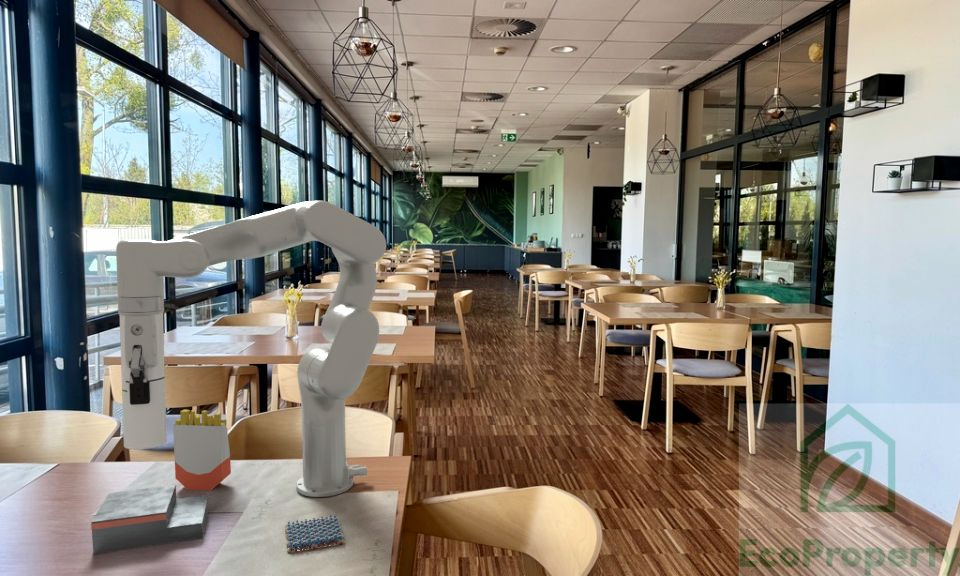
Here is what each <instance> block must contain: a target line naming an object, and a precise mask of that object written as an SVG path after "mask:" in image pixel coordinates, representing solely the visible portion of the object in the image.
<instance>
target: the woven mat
mask: <svg viewBox="0 0 960 576" xmlns="http://www.w3.org/2000/svg"><path fill="white" fill-rule="evenodd" d="M295 521H296V522H295ZM295 521H292V524H291V523H290V522H291V521H287V524H286V525H285V527H284V528H285V529H284V530H285V531H284V532H285V538H286V539H287V543H286V544H285V546H287V548H286V552H287V553H288V552H292V553H298V552H297V549H299V550H300V551H299V552H302V551H301V550H302V549H303V548H304V549H303V550H305V549H311V550H316V549H319V548H318V547H323V548H325V547H324V546H328V547H330V546H329V545H334V546H339V545H344V544H345V543H346V540H345V539H343V538H344V537H345V536H344V533H343V529H342V525H341V523H340V518H339V517H338V516H336V515H334V516H333V515H331V514H330V515H329V518H328V516H326V517H325V518H324V516H321V517H320V518H319V517H318V518H317V519H316V518H315V517H313V518H312V519H309V520H307V519H304V520H300V522H299V520H298V519H297V520H295ZM334 525H335V526H334ZM300 527H301V528H300ZM305 527H306V528H305ZM301 533H302V534H301ZM305 535H306V536H305ZM302 538H303V539H302ZM297 539H298V540H297ZM325 540H326V541H325ZM320 541H321V542H320ZM329 542H330V543H329ZM324 543H326V544H324ZM320 544H321V545H320ZM303 546H304V547H303ZM307 546H309V547H307ZM297 547H299V548H297ZM288 548H289V549H288ZM293 548H295V549H293ZM312 548H313V549H312ZM287 549H288V550H287ZM294 551H295V552H294ZM305 551H306V550H305Z"/></svg>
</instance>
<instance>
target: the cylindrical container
mask: <svg viewBox="0 0 960 576" xmlns="http://www.w3.org/2000/svg"><path fill="white" fill-rule="evenodd" d="M154 317H155V323H156V333H157V360H158V365H157V366H155V367H153V368H152V366H151V365H150V366H148V382H150V402H149V403H148V404H138V405H131V404H130V388H129V383H130V368H131V366H129V367H130V368H128V367H127V366H126V360H125V327H124V326H125V315H119V333H120V338H119V339H120V367H121V368H120V369H121V391H122V392H121V397H122V401H121V402H122V426H123V428H122V429H123V447H124V448H125V449H128V450H147V449H152V448H156V447H159V446H162V445H164V444H166V442H167V415H166V414H167V412H166V411H167V409H166V407H167V406H166V380H165V376H166V375H165V373H166V372H165V339H164V332H165V331H164V313H160V314H154ZM136 330H138V328H136ZM138 331H139V330H138ZM129 365H131V361H129ZM141 365H145V360H144V358H143V356H141V362H140V366H141ZM142 371H143V372H144V370H142ZM143 375H144V374H143Z"/></svg>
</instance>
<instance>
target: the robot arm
mask: <svg viewBox="0 0 960 576" xmlns="http://www.w3.org/2000/svg"><path fill="white" fill-rule="evenodd" d="M315 241H316V242H320V243H322V244H324V245H326V246H327V247H330V248H331V251H332V254H333V256H335V258H336V260H337V263H338V267H339V280H338V283H337V286H336V289H335V291H334V293H333V296H332V298H331V301H330V303H329V305H328V307H327V310H326V311H325V314H324V316H323V318H322V321H321V324H320V325H321V326H320V330H321V331H320V332H321V336H323V337H324V339H325V340H326V341H328V342H329V343H331V346H330V348H326V347H316V348H312V349H310V350H308V351H306V352H305V353H304V354H303V355H302V357H301V358H300V360H299V362H298V364H297V365H298V366H297V371H296V372H297V373H296V374H297V383H298V390H299V394H300V395H299V396H300V404H301V406H300V407H301V444H302V445H301V446H302V449H301V451H302V477H301V478H299V479H297V481H296V484H295V488H296V492H298V493H299V494H301V495H302V496H307V497H311V498H312V497H313V498H325V497H331V496H332V497H333V496H336V495H340V494H343V493H345V492H347V491H349V490H350V489H351V488H352V487H353V485H354V477H358V476H359V477H363V476H368V468H367V466H361V465H360V464H354V465H350V464H348V462H347V455H346V453H347V452H346V451H347V450H346V449H347V448H346V447H347V446H346V404H345V399H347V398H349V397H350V396H352V395H353V394H354V393H355V392H356V391H357V389H358V388H359V387H360V384H361V383H362V381H363V377H365V374H366V371H367V368H368V367H369V363H370V361H371V359H372V357H373V354H374V351H375V349H376V346H377V344H378V341H379V336H380V325H379V322H378V319H377V317H376V315H374V313H373V312H372V311H370V307H371V304H372V301H373V298H374V295H375V293H376V290H377V284H378V275H377V269H376V265H375V263H377V262H379V261H380V260H381V259H382V258H383V257H384V255H385V253H386V250H387V241H386V238H385V235H384V234H383V232H382V231H381V230H380V228H378V227H377V226H375V225H373V224H371V223H370V222H368V221H365V220H364V219H362V218H360V217H358V216H356V215H355V214H353V213H350V212H349V211H347V210H345V209H344V208H341V207H339V206H338V205H336V204H334V203H331V202H329V201H326V200H309V201H302V202H298V203H295V204H291V205H286V206H284V207H281V208H277V209H274V210H269V211H265V212H262V213H259V214H258V213H257V214H255V215H251V216H248V217H244V218H240V219H237V220H234V221H232V222H231V221H230V222H229V223H226V224H221V225H218V226H215V227H210V228H208V229H204V230H200V231H196V232H193V233H190V234H185V235H182V236H178V237H175V238H171V239H169V240H167V241H166V240H164V241H163V240H162V241H158V240H153V239H122V240H120V241H119V242H118V243H117V244H116V247H115V248H116V249H115V253H116V254H115V255H116V258H115V259H116V279H117V280H116V281H117V282H116V285H117V286H116V288H117V310H118V311H117V312H118V313H117V314H118V315H119V316H120V315H125V326H124V327H125V360H126V366H127V367H128V368H130V367H129V366H131V368H130V383H129V388H130V404H131V405H138V404H148V403H149V402H150V382H148V366H150V365H151V366H152V368H153V367H155V366H157V365H158V360H157V333H156V323H155V317H154V314H160V313H163V314H164V313H165V307H164V306H165V304H164V303H165V301H164V277H167V278H178V279H193V278H197V277H199V276H200V275H202V274H203V273H204V272H206V271H207V269H208V267H211V266H214V265H218V264H222V263H227V262H230V261H237V260H249V259H252V260H253V259H257V258H262V257H265V256H269V255H271V254H274V253H279V252H281V251H285V250H287V249H289V248H294V247H297V246H300V245H303V244H307V243H310V242H315ZM136 328H138V330H139V331H138V330H136ZM141 356H143V358H144V360H145V365H141V366H140V362H141ZM129 361H131V365H129ZM142 370H144V372H143V371H142ZM143 374H144V375H143Z"/></svg>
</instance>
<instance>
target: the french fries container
mask: <svg viewBox="0 0 960 576" xmlns="http://www.w3.org/2000/svg"><path fill="white" fill-rule="evenodd" d="M179 413H180V418H179V419H175V420H174V421H175V422H174V424H172V430H173V431H172V432H173V448H174V449H173V452H174V473H175V480H177V481H178V483H180V484H181V486H183V487H184V488H185V489H186V490H187V489H188V490H191V491H210V490H213V489H214V488H216V487H217V486H218V485H220V484H221V483H222V482H223V481H224V480H225V479H226V478H228V476H229V475H231V473H232V469H231V467H232V465H231V464H232V463H231V453H230V450H231V449H230V443H229V435H228V434H229V433H228V427H227V421H228V420H227V419H226V418H225V419H224V418H223V419H222V412H216V413H214V414H213V415H212V414H208V410H202V411H201V416H200V414H198V413H196V410H195V409H193V410H190V409H183V410H180V412H179Z"/></svg>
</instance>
